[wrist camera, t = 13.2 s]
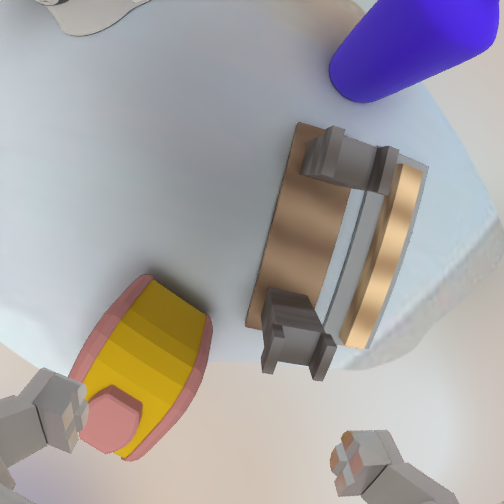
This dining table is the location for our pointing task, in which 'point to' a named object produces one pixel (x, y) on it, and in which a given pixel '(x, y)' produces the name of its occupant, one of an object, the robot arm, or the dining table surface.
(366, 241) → the mat
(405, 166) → the rail
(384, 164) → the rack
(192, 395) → the alarm clock
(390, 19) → the bottle
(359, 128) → the dining table surface
